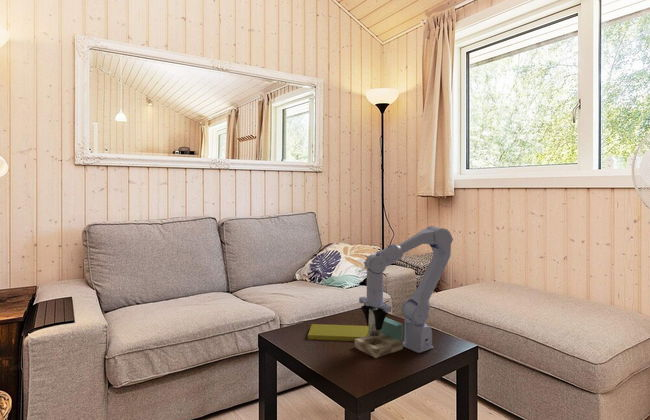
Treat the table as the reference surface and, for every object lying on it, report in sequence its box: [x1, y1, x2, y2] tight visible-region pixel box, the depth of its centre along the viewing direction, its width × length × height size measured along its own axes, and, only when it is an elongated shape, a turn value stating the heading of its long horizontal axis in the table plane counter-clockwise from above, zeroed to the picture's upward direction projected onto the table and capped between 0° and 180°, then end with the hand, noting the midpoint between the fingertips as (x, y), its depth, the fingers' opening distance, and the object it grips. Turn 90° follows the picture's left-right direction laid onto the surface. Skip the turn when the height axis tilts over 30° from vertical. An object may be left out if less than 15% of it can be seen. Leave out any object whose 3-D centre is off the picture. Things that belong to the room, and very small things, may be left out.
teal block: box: [380, 316, 404, 342], centre depth 144 cm, size 11×4×6 cm, turn 35°
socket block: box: [354, 332, 404, 359], centre depth 142 cm, size 11×13×3 cm
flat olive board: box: [307, 323, 369, 342], centre depth 155 cm, size 12×2×24 cm
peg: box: [368, 308, 380, 337], centre depth 140 cm, size 4×4×9 cm
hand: (374, 327), depth 140 cm, fingers closed on peg, 4 cm apart
